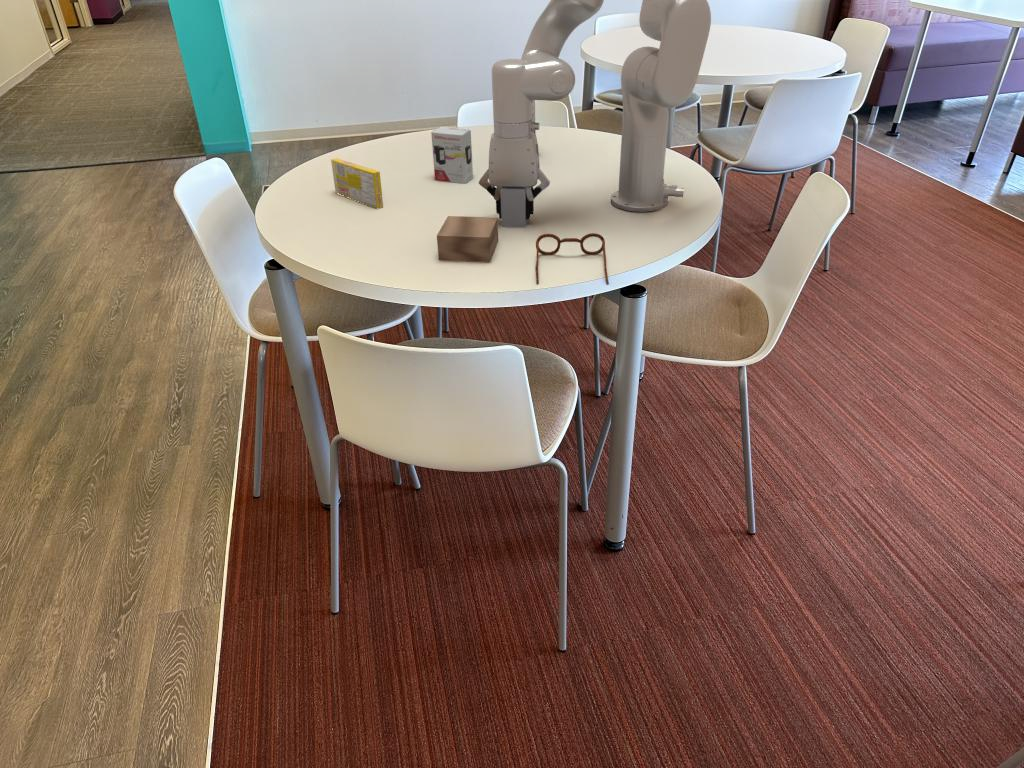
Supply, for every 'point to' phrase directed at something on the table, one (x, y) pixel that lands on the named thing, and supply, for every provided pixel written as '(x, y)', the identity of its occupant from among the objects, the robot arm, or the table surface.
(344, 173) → the candy box
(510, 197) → the grey block
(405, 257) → the table surface
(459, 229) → the block
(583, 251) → the glasses
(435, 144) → the ink box
